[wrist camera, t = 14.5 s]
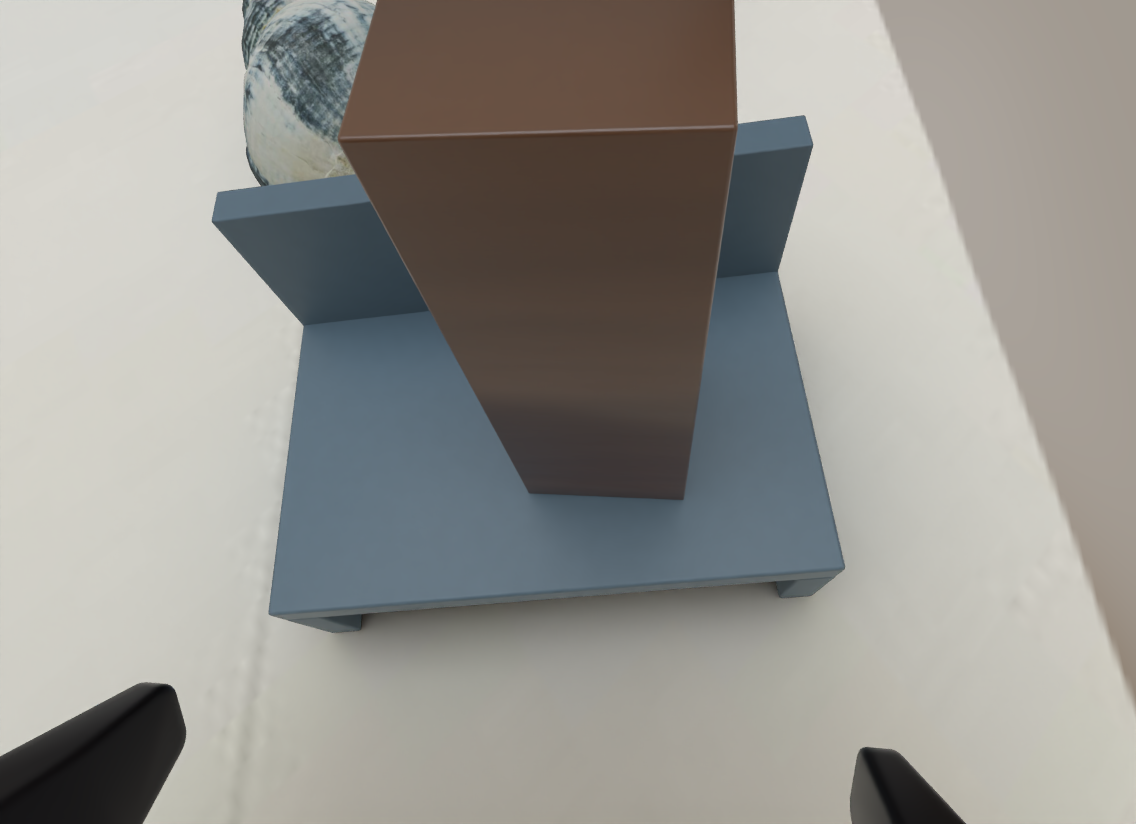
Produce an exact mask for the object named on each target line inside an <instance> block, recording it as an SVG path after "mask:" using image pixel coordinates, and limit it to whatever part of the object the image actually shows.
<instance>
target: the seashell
mask: <svg viewBox="0 0 1136 824" xmlns="http://www.w3.org/2000/svg"><path fill="white" fill-rule="evenodd" d="M375 6H376V5H374V4H372V3H370V2H368V1H365V0H243V6H242V11H243V17H244V29H243V36H242V51H243V57H244V62H245V67H246V70H247V71H246V73H245V77H244V105H243V120H244V131H245V137H246V142H247V147H246V155H247V159H248V162H249V165H250V168H251V170H252V172H253V174H254V176H255V178H256V179H257V181H258V182H259V184H260V185H261V186H268V185H276V184H284V183H291V182H299V181H307V180H314V179H322V178H329V177H337V176H345V175H352V174H355V172H354V171H353V169H352V167H351V165H350V163H349V161H348V160H347V158H346V156H345V154H344V152H343V150H342V149H341V147H340V145H339V143H338V133H339V130H340V127H341V123H342V120H343V116H344V113H345V109H346V106H347V102H348V99H349V96H350V92H351V89H352V85H353V82H354V78H355V75H356V71H357V68H358V65H359V61H360V58H361V54H362V51H363V47H364V44H365V40H366V37H367V34H368V30H369V27H370V23H371V20H372V16H373V13H374V9H375Z"/></svg>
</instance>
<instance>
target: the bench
mask: <svg viewBox="0 0 1136 824" xmlns="http://www.w3.org/2000/svg"><path fill="white" fill-rule="evenodd" d="M812 148H813V142H812V138H811V135H810V131H809V128H808V124H807V121H806V117H805V116H804V115H803V116H795V117H787V118H780V119H772V120H765V121H757V122H749V123H742V124H738V131H737V138H736V144H735V151H734V158H733V165H732V172H731V179H730V186H729V193H728V200H727V207H726V213H725V220H724V227H723V234H722V241H721V248H720V255H719V262H718V269H717V275H716V282H715V289H714V296H713V303H712V310H711V317H710V324H709V331H708V338H707V344H706V351H705V358H704V365H703V372H702V379H701V386H700V393H699V400H698V406H697V413H696V420H695V427H694V434H693V441H692V448H691V455H690V462H689V468H688V475H687V482H686V489H685V496H684V499H683V500H671V499H648V498H625V497H603V496H580V495H557V494H535V493H528V491H527V489H526V487H525V485H524V483H523V482H522V480H521V478H520V476H519V474H518V472H517V471H516V469H515V467H514V465H513V463H512V461H511V459H510V458H509V456H508V454H507V452H506V450H505V448H504V447H503V445H502V443H501V441H500V439H499V437H498V436H497V434H496V432H495V430H494V428H493V426H492V425H491V423H490V421H489V419H488V417H487V415H486V413H485V412H484V410H483V408H482V406H481V404H480V402H479V401H478V399H477V397H476V395H475V393H474V391H473V390H472V388H471V386H470V384H469V382H468V380H467V379H466V377H465V375H464V373H463V371H462V369H461V367H460V366H459V364H458V362H457V360H456V358H455V356H454V355H453V353H452V351H451V349H450V347H449V345H448V344H447V342H446V340H445V338H444V336H443V334H442V333H441V331H440V329H439V327H438V325H437V323H436V321H435V320H434V318H433V316H432V314H431V312H430V310H429V309H428V307H427V305H426V303H425V301H424V299H423V298H422V296H421V294H420V292H419V290H418V288H417V287H416V285H415V283H414V281H413V279H412V277H411V276H410V274H409V272H408V270H407V268H406V266H405V264H404V263H403V261H402V259H401V257H400V255H399V253H398V252H397V250H396V248H395V246H394V244H393V242H392V241H391V239H390V237H389V235H388V233H387V231H386V230H385V228H384V226H383V224H382V222H381V220H380V218H379V217H378V215H377V213H376V211H375V209H374V207H373V206H372V204H371V202H370V200H369V198H368V196H367V195H366V193H365V191H364V189H363V187H362V185H361V184H360V182H359V180H358V178H357V176H356V174H352V175H345V176H337V177H329V178H322V179H314V180H307V181H299V182H291V183H284V184H276V185H268V186H261V187H253V188H246V189H238V190H230V191H223V192H218V193H217V197H216V202H215V207H214V212H213V217H212V223H213V224H214V225H215V226H216V227H217V228H218V229H219V231H220V232H221V233H222V234H223V235H224V236H225V237H226V239H227V240H228V241H229V242H230V243H231V244H232V245H233V246H234V248H235V249H236V250H237V251H238V252H239V253H240V254H241V255H242V257H243V258H244V259H245V260H246V261H247V262H248V263H249V265H250V266H251V267H252V268H253V269H254V270H255V271H256V272H257V274H258V275H259V276H260V277H261V278H262V279H263V280H264V282H265V283H266V284H267V285H268V286H269V287H270V288H271V289H272V291H273V292H274V293H275V294H276V295H277V296H278V297H279V298H280V300H281V301H282V302H283V303H284V304H285V305H286V306H287V308H288V309H289V310H290V311H291V312H292V313H293V314H294V315H295V317H296V318H297V319H298V320H299V321H300V322H301V323H302V324H303V326H304V328H303V336H302V344H301V352H300V360H299V368H298V376H297V385H296V393H295V401H294V409H293V417H292V425H291V433H290V442H289V450H288V458H287V466H286V474H285V482H284V491H283V499H282V507H281V515H280V523H279V531H278V539H277V548H276V556H275V564H274V572H273V580H272V588H271V596H270V605H269V615H271V616H274V617H278V618H282V619H285V620H288V621H292V622H295V623H299V624H303V625H306V626H310V627H314V628H317V629H321V630H325V631H328V632H332V633H335V632H348V631H359V630H360V629H361V618H362V614H368V613H381V612H393V611H406V610H419V609H431V608H444V607H457V606H469V605H482V604H495V603H507V602H520V601H533V600H545V599H558V598H571V597H583V596H596V595H609V594H621V593H634V592H647V591H659V590H672V589H685V588H697V587H710V586H723V585H735V584H748V583H761V582H773V581H776V584H777V590H778V595H779V597H780V598H789V597H802V596H811V595H813V594H814V593H815V592H816V591H818V590H819V589H820V588H822V587H823V586H824V585H825V584H827V583H828V582H829V581H831V580H832V579H833V578H834V577H835V576H836V575H838V574H839V573H840V572H842V571H843V570H844V569H845V564H844V559H843V555H842V551H841V546H840V542H839V538H838V533H837V529H836V525H835V520H834V516H833V511H832V507H831V503H830V498H829V494H828V490H827V485H826V481H825V476H824V472H823V468H822V463H821V459H820V455H819V450H818V446H817V441H816V437H815V433H814V428H813V424H812V420H811V415H810V411H809V406H808V402H807V398H806V393H805V389H804V385H803V380H802V376H801V371H800V367H799V363H798V358H797V354H796V350H795V345H794V341H793V336H792V332H791V328H790V323H789V319H788V315H787V310H786V306H785V301H784V297H783V293H782V288H781V284H780V280H779V275H778V269H779V265H780V262H781V258H782V255H783V251H784V248H785V244H786V240H787V237H788V233H789V230H790V226H791V223H792V219H793V215H794V212H795V208H796V205H797V201H798V198H799V194H800V191H801V187H802V183H803V180H804V176H805V173H806V169H807V166H808V162H809V158H810V155H811V151H812Z"/></svg>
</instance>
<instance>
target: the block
mask: <svg viewBox="0 0 1136 824" xmlns="http://www.w3.org/2000/svg"><path fill="white" fill-rule="evenodd" d="M737 131H738V117H737V81H736V46H735V11H734V0H377V3H376V6H375V9H374V13H373V16H372V20H371V23H370V27H369V30H368V34H367V37H366V40H365V44H364V47H363V51H362V54H361V58H360V61H359V65H358V68H357V71H356V75H355V78H354V82H353V85H352V89H351V92H350V96H349V99H348V102H347V106H346V109H345V113H344V116H343V120H342V123H341V127H340V130H339V133H338V143H339V145H340V147H341V149H342V150H343V152H344V154H345V156H346V158H347V160H348V161H349V163H350V165H351V167H352V169H353V171H354V172H355V174H356V176H357V178H358V180H359V182H360V184H361V185H362V187H363V189H364V191H365V193H366V195H367V196H368V198H369V200H370V202H371V204H372V206H373V207H374V209H375V211H376V213H377V215H378V217H379V218H380V220H381V222H382V224H383V226H384V228H385V230H386V231H387V233H388V235H389V237H390V239H391V241H392V242H393V244H394V246H395V248H396V250H397V252H398V253H399V255H400V257H401V259H402V261H403V263H404V264H405V266H406V268H407V270H408V272H409V274H410V276H411V277H412V279H413V281H414V283H415V285H416V287H417V288H418V290H419V292H420V294H421V296H422V298H423V299H424V301H425V303H426V305H427V307H428V309H429V310H430V312H431V314H432V316H433V318H434V320H435V321H436V323H437V325H438V327H439V329H440V331H441V333H442V334H443V336H444V338H445V340H446V342H447V344H448V345H449V347H450V349H451V351H452V353H453V355H454V356H455V358H456V360H457V362H458V364H459V366H460V367H461V369H462V371H463V373H464V375H465V377H466V379H467V380H468V382H469V384H470V386H471V388H472V390H473V391H474V393H475V395H476V397H477V399H478V401H479V402H480V404H481V406H482V408H483V410H484V412H485V413H486V415H487V417H488V419H489V421H490V423H491V425H492V426H493V428H494V430H495V432H496V434H497V436H498V437H499V439H500V441H501V443H502V445H503V447H504V448H505V450H506V452H507V454H508V456H509V458H510V459H511V461H512V463H513V465H514V467H515V469H516V471H517V472H518V474H519V476H520V478H521V480H522V482H523V483H524V485H525V487H526V489H527V491H528V493H535V494H557V495H580V496H603V497H625V498H648V499H671V500H683V499H684V496H685V489H686V482H687V475H688V468H689V462H690V455H691V448H692V441H693V434H694V427H695V420H696V413H697V406H698V400H699V393H700V386H701V379H702V372H703V365H704V358H705V351H706V344H707V338H708V331H709V324H710V317H711V310H712V303H713V296H714V289H715V282H716V275H717V269H718V262H719V255H720V248H721V241H722V234H723V227H724V220H725V213H726V207H727V200H728V193H729V186H730V179H731V172H732V165H733V158H734V151H735V144H736V138H737Z"/></svg>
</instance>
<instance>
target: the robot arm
mask: <svg viewBox="0 0 1136 824" xmlns="http://www.w3.org/2000/svg"><path fill="white" fill-rule="evenodd" d="M185 739H186V726H185V723H184V719H183V716H182V712H181V709H180V705H179V702H178V698H177V694H176V692H175V690H174V688H173V687H172V686H171V685H168V684H160V683H148V682H145V683H139V684H137V685H135V686H133V687H131V688H129V689H127V690H125V691H123V692H121V693H119V694H117V695H116V696H114V697H112V698H110V699H108V700H106V701H104V702H102V703H100V704H99V705H97V706H95V707H93V708H91V709H89V710H87V711H85V712H83V713H82V714H80V715H78V716H76V717H74V718H72V719H70V720H68V721H66V722H65V723H63V724H61V725H59V726H57V727H55V728H53V729H51V730H49V731H48V732H46V733H44V734H42V735H40V736H38V737H36V738H34V739H32V740H30V741H29V742H27V743H25V744H23V745H21V746H19V747H17V748H15V749H13V750H12V751H10V752H8V753H6V754H4V755H2V756H0V824H143V822H144V820H145V818H146V816H147V814H148V813H149V811H150V809H151V807H152V805H153V803H154V801H155V800H156V798H157V796H158V794H159V792H160V790H161V788H162V786H163V785H164V783H165V781H166V779H167V777H168V775H169V773H170V772H171V770H172V768H173V766H174V764H175V762H176V760H177V759H178V757H179V755H180V753H181V751H182V749H183V746H184V743H185ZM850 812H851V820H852V824H966V823H965V822H964V821H963V820H962V819H961V818H960V817H959V816H958V815H957V814H956V812H955V811H954V810H953V809H952V808H951V807H950V806H949V805H948V804H947V803H946V802H945V801H944V800H943V799H942V798H941V797H940V795H939V794H938V793H937V792H936V791H935V790H934V789H933V788H932V787H931V786H930V785H929V784H928V783H927V782H926V781H925V779H924V778H923V777H922V776H921V775H920V774H919V773H918V772H917V771H916V770H915V769H914V768H913V767H912V766H911V765H910V763H909V762H908V761H907V760H906V759H905V758H904V757H903V756H902V755H901V754H900V753H898V752H897V751H895V750H892V749H882V748H871V747H864V748H862V749H860V751H859V753H858V755H857V760H856V766H855V772H854V777H853V783H852V789H851V796H850Z"/></svg>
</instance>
